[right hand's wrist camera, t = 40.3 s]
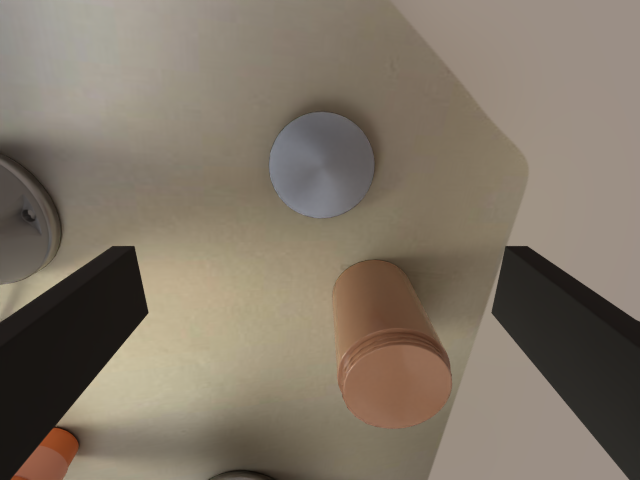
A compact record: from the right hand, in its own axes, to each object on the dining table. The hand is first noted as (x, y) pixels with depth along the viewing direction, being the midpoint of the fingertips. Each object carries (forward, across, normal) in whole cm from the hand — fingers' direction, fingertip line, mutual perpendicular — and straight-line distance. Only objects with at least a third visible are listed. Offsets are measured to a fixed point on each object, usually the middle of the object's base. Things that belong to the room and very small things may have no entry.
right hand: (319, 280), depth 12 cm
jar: (+26, +6, -16) cm, 31 cm away
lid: (+24, 0, 0) cm, 24 cm away
